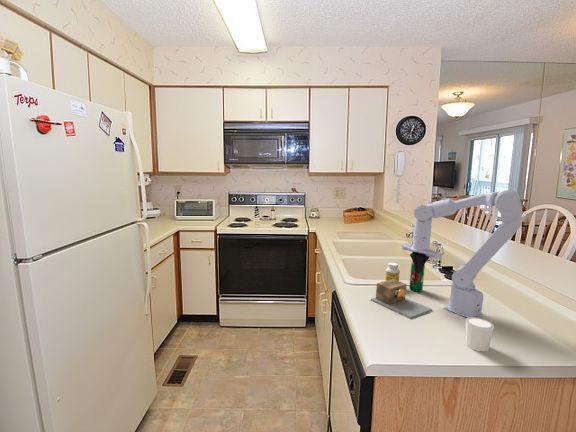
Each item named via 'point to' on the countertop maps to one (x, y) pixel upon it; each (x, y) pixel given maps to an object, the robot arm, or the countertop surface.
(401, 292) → the shaft
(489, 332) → the white cup
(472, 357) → the countertop surface
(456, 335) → the countertop surface
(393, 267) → the supplement bottle
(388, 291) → the bearing block
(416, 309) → the base plate
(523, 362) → the countertop surface
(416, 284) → the soda can
